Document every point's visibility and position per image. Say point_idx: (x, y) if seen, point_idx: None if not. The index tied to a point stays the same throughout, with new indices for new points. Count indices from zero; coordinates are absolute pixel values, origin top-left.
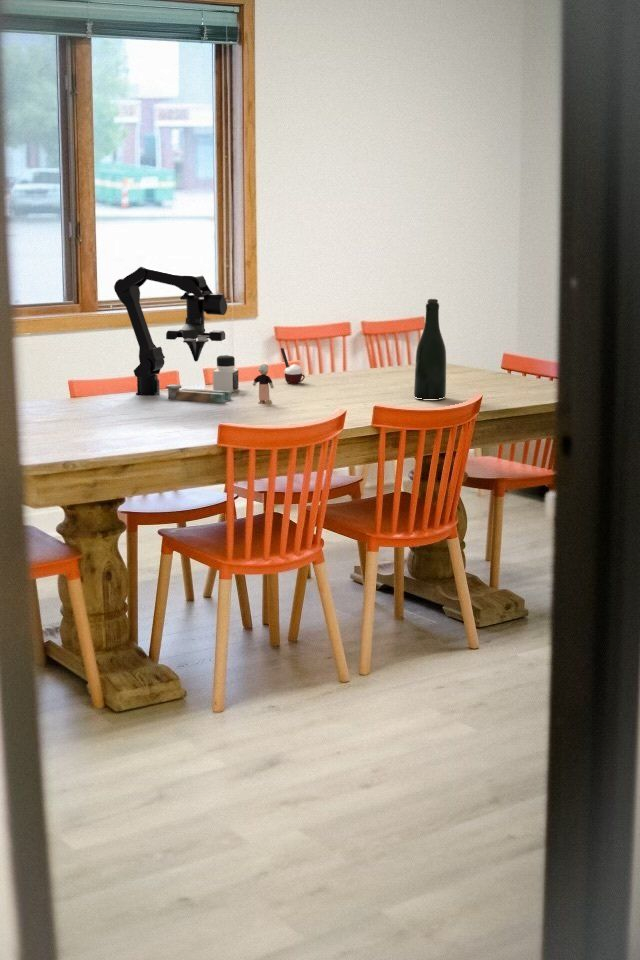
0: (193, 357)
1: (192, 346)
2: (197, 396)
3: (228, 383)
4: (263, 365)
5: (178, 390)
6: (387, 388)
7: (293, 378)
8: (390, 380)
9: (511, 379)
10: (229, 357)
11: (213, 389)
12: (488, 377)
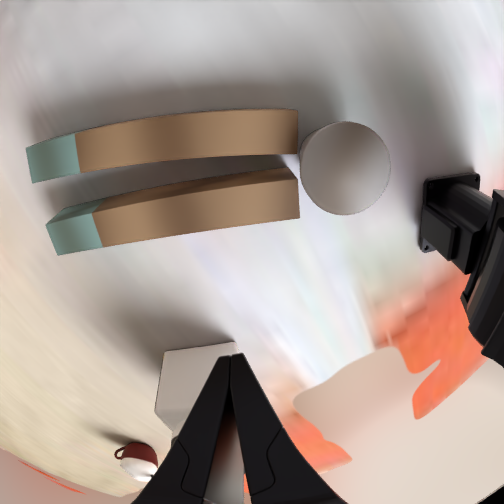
0: (252, 377)
1: (263, 496)
2: (155, 117)
3: (175, 374)
4: None
5: (297, 136)
6: (12, 420)
7: (128, 450)
8: (61, 456)
9: (9, 449)
10: None
11: (234, 346)
12: (26, 457)
